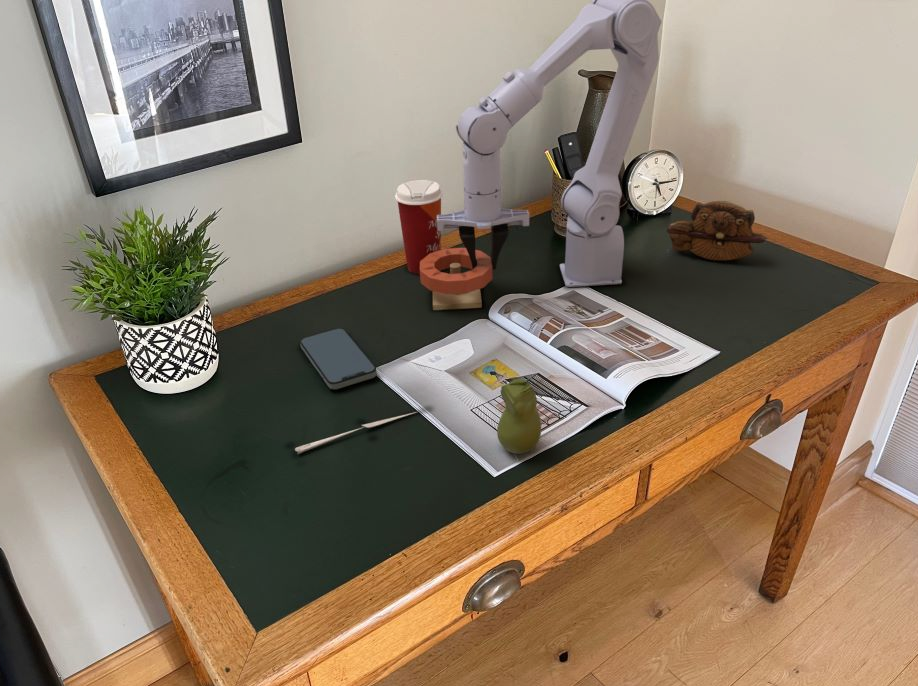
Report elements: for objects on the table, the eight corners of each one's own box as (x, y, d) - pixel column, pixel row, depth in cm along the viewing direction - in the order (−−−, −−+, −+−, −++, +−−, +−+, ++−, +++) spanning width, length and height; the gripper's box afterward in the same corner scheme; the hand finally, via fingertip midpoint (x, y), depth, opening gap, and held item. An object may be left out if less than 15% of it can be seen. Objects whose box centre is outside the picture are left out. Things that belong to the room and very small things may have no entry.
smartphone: (343, 326, 124) (378, 369, 113) (344, 335, 125) (380, 379, 114) (297, 339, 122) (329, 384, 110) (299, 348, 123) (330, 394, 111)
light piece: (434, 410, 105) (299, 456, 99) (434, 416, 106) (300, 462, 99) (421, 395, 108) (289, 439, 102) (421, 401, 109) (290, 445, 102)
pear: (547, 455, 98) (549, 390, 92) (509, 467, 97) (509, 402, 91) (527, 429, 102) (528, 366, 97) (490, 440, 101) (488, 377, 95)
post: (479, 284, 135) (478, 252, 132) (481, 307, 129) (481, 275, 125) (432, 287, 136) (430, 255, 132) (433, 310, 129) (431, 277, 126)
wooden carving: (662, 258, 139) (668, 205, 134) (666, 247, 143) (672, 195, 137) (761, 269, 134) (772, 214, 128) (762, 258, 137) (773, 204, 132)
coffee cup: (446, 276, 139) (442, 195, 130) (400, 278, 139) (392, 197, 130) (446, 255, 145) (442, 177, 137) (402, 257, 146) (395, 179, 137)
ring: (489, 258, 135) (489, 246, 133) (494, 292, 125) (494, 278, 124) (421, 262, 135) (420, 249, 134) (420, 295, 125) (419, 282, 124)
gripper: (435, 200, 118) (440, 281, 126) (532, 195, 118) (530, 276, 126) (435, 183, 124) (439, 261, 132) (527, 178, 124) (526, 256, 131)
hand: (483, 267), depth 129 cm, fingers closed on ring, 2 cm apart
